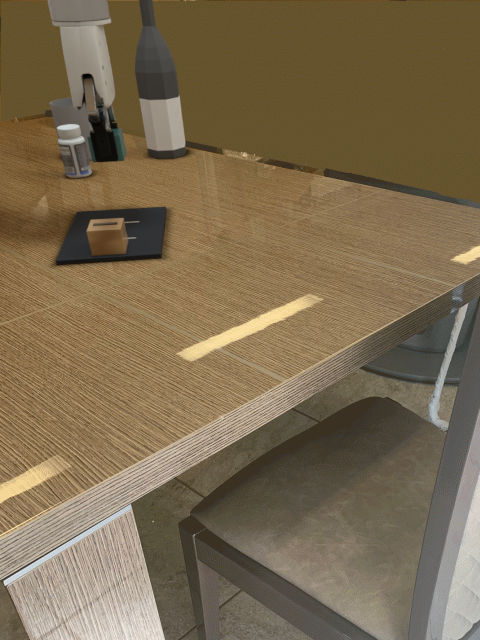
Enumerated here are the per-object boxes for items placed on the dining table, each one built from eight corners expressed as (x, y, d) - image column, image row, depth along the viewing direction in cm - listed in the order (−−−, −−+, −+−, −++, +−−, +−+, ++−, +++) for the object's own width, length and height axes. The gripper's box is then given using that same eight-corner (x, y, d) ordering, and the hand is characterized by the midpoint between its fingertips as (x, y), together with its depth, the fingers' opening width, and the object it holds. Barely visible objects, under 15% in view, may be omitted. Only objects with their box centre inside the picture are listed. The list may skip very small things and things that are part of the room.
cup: (95, 147, 136) (84, 95, 130) (112, 155, 131) (101, 101, 125) (56, 154, 132) (43, 101, 126) (72, 163, 127) (59, 107, 121)
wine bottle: (177, 160, 128) (151, -24, 110) (140, 157, 130) (109, -24, 111) (194, 150, 134) (173, -26, 116) (159, 147, 136) (132, -26, 118)
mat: (56, 264, 87) (55, 260, 87) (77, 215, 103) (76, 211, 102) (161, 258, 89) (160, 253, 88) (166, 210, 104) (165, 206, 104)
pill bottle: (91, 170, 123) (80, 122, 118) (93, 176, 119) (83, 128, 114) (65, 172, 121) (53, 124, 116) (66, 179, 118) (55, 130, 113)
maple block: (92, 256, 88) (86, 230, 86) (96, 243, 91) (90, 218, 89) (125, 254, 88) (120, 228, 86) (128, 241, 92) (123, 216, 90)
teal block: (92, 162, 94) (86, 136, 91) (96, 154, 97) (90, 129, 95) (124, 160, 94) (119, 134, 92) (126, 152, 98) (121, 127, 95)
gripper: (61, 6, 91) (91, 143, 102) (37, 18, 77) (75, 174, 88) (115, 5, 91) (139, 141, 103) (101, 16, 78) (130, 171, 89)
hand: (109, 155), depth 95 cm, fingers closed on teal block, 4 cm apart
